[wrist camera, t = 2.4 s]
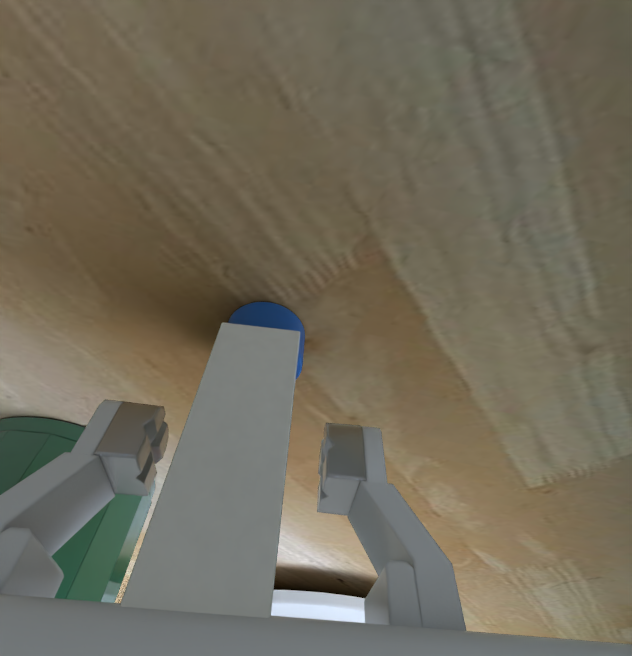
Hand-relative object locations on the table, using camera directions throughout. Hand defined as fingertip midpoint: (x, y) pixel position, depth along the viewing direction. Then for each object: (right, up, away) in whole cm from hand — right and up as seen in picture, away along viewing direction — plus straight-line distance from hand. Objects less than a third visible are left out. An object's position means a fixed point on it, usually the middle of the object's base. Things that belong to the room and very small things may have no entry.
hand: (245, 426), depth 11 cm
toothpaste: (0, +3, +3) cm, 4 cm away
